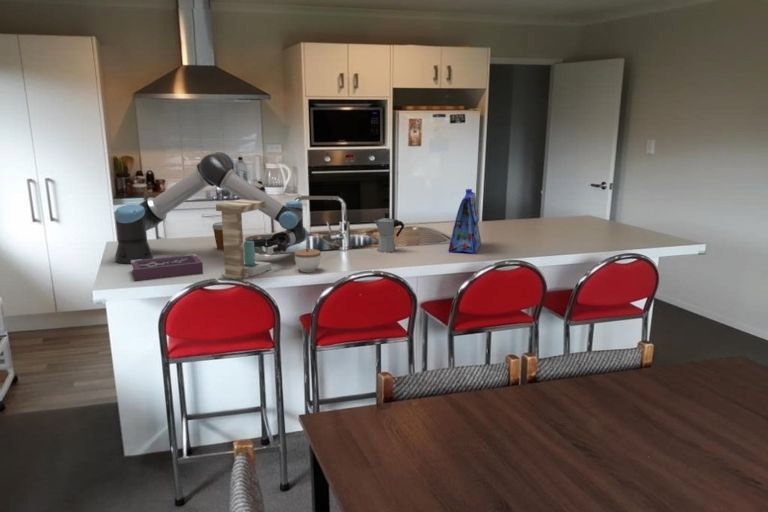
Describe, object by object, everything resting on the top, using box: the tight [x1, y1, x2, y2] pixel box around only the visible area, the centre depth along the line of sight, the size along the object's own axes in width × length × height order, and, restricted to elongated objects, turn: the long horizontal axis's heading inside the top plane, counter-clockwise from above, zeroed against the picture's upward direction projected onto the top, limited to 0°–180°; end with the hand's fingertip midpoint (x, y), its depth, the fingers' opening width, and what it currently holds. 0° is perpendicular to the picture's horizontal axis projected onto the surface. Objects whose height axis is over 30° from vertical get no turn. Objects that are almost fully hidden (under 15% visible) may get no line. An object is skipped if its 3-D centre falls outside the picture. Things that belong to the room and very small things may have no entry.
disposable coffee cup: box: [211, 221, 224, 251], centre depth 274 cm, size 10×10×12 cm
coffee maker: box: [373, 212, 405, 254], centre depth 271 cm, size 15×9×18 cm, turn 73°
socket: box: [244, 260, 272, 277], centre depth 236 cm, size 12×12×2 cm
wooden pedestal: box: [215, 198, 266, 280], centre depth 229 cm, size 16×12×28 cm
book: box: [131, 253, 204, 282], centre depth 233 cm, size 25×16×5 cm, turn 117°
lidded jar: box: [293, 247, 322, 273], centre depth 236 cm, size 11×11×9 cm
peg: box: [243, 240, 256, 267], centre depth 235 cm, size 4×4×12 cm
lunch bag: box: [448, 188, 482, 255], centre depth 275 cm, size 22×14×29 cm, turn 164°
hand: (253, 249), depth 236 cm, fingers open, 13 cm apart
